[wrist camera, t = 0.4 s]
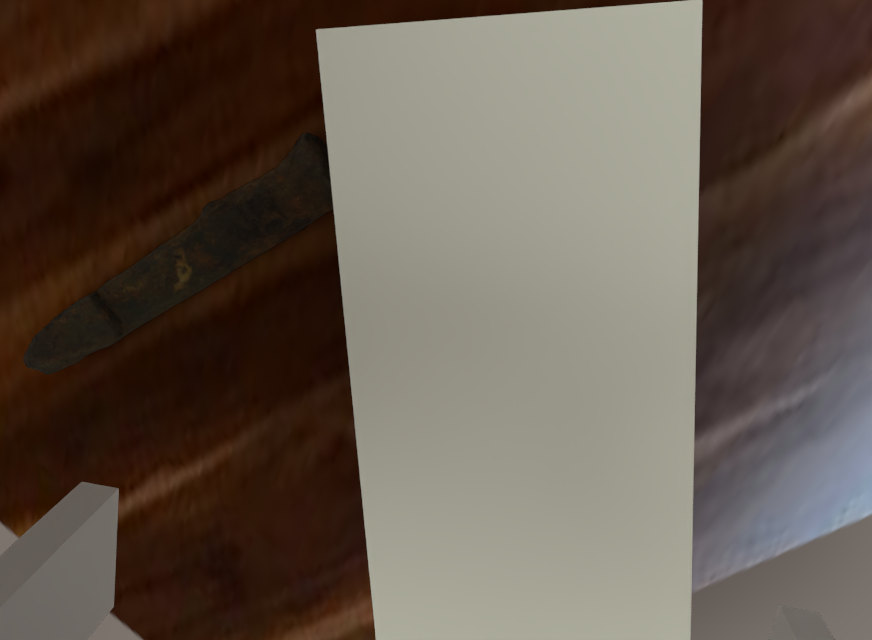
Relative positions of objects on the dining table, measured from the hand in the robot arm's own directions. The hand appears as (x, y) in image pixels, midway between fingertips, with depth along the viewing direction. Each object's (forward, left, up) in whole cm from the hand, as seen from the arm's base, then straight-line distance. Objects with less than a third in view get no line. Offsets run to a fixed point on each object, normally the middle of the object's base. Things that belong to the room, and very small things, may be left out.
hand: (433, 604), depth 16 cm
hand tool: (-2, -14, -26) cm, 30 cm away
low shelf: (0, +2, -26) cm, 26 cm away
